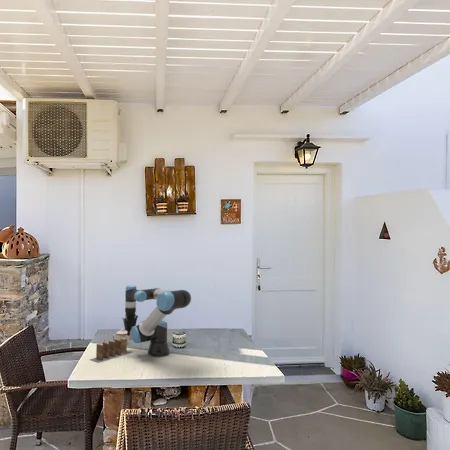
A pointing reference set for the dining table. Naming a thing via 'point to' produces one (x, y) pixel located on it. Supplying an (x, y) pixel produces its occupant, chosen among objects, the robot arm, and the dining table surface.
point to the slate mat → (109, 357)
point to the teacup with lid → (121, 335)
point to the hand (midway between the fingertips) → (129, 339)
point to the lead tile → (123, 345)
